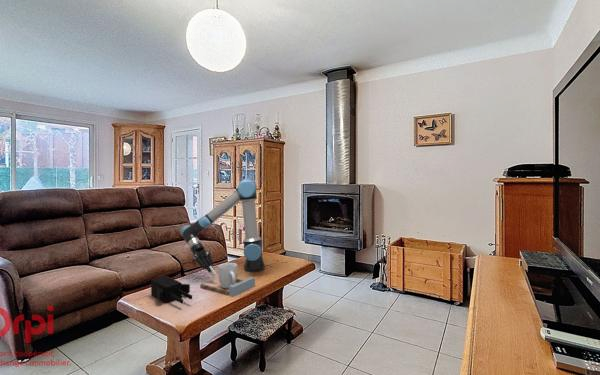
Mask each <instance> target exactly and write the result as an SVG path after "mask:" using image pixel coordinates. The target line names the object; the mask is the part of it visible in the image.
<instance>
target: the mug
mask: <svg viewBox="0 0 600 375" xmlns="http://www.w3.org/2000/svg"><path fill="white" fill-rule="evenodd" d="M217 267H218V270H217V271H218V280H219V283H220V286H221V287H222V289H224V290H229V286H231V285H234V284H236V280H237V279H238V263H235V262H225V263H221V264H219V265H218V266H217Z"/></svg>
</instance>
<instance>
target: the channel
mask: <svg viewBox="0 0 600 375" xmlns="http://www.w3.org/2000/svg"><path fill="white" fill-rule="evenodd" d="M243 280H244V279H240V278H237V280H236V283H238V282H241V281H243ZM236 283H235V284H236ZM199 287H200V289H203V290H206V291H210V292H212V293H213V292H214V293H217V294H221V295H225V296H229V289H225V288H219V287H216V286H212V285H209V284H204V283H201V284H200V286H199Z"/></svg>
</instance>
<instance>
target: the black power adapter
mask: <svg viewBox="0 0 600 375" xmlns="http://www.w3.org/2000/svg"><path fill="white" fill-rule="evenodd" d="M150 284H151V287H150V289H151V290H150V294H151V295H150V296H152V297H154V298H156V299H157V300H158V301H161V302H162V303H164V304H165V303H167V304H169V303H172V302H175V301H176V302H178V303H180V304H184V299H183V297H185V298H187V299H189V300H193V295H192V294H190V292H191V290H190V289H191V287H190V286H191V284H190V283H182V282H181V281H179V280H177V279H174V278H173V277H170V276H169V275H164V276H159V277H156V278H152V279H150ZM182 296H183V297H182Z"/></svg>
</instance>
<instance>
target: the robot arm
mask: <svg viewBox="0 0 600 375" xmlns="http://www.w3.org/2000/svg"><path fill="white" fill-rule="evenodd" d="M257 199H258V197H257V183H256V182H255V181H254V180H253V179H249V178H247V179H242V180H241V181H239V183H238V184H237V187H236V189H235V190H234V192H232V193H231V194H230V195H228V196H227V197H226V198H225V199H224V200H222V201H221V202H220V203H218V205H216V206H215V207H214V208H212V209H211V210H210V211H209V212H208V213H206V214H205V215H203V216H201V217H199V218H198V219H197V220H196V221H195V222H193V223H192V224H191V225H190V224H186V225H185V226H183V227H181V228H180V230H179V231H180V233H179V234H180V235H181V237H182V238H183V239H184V241H185V243H186V244H187V246H188V248H189V249H190V251H191V252H192V254H193V255H194V256H193V257H192V260H194V261H195V262H196V263H197V264H198V265H199V266H200V267H201V268H202V269H203V270H206V271H207V272H208V273H209V274H210V276H211V277H212V278H214V277H216V276H217V272H216V271H215V268H214V266H213V265H214V260H213V258H212V255H211V251H206V249H205V247H204V245H203V243H202V242H201V240H200V239H199V237H198V235H199V234H200V233H202V232H203V231H204V230H206V229H207V228H208V227H209V226H211V225H212V224H214V222H215V221H217V220H219V219H220V218H221V217H222V216H224V214H226V213H227V212H228V211H229V210H231V209H232V208H234V207H235V206H236V205H237V204H239V203H241V206H242V217H243V226H244V235H245V236H244V239H243V241H242V242H243V256H244V257H245V261H244V264H243V271H245V272H250V273H252V272H254V273H255V272H260V271H264V270H265V269H266V264H265V261H264V258H263V237H261V236H259V232H258V220H257V210H256V209H257V208H256V201H257Z"/></svg>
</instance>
